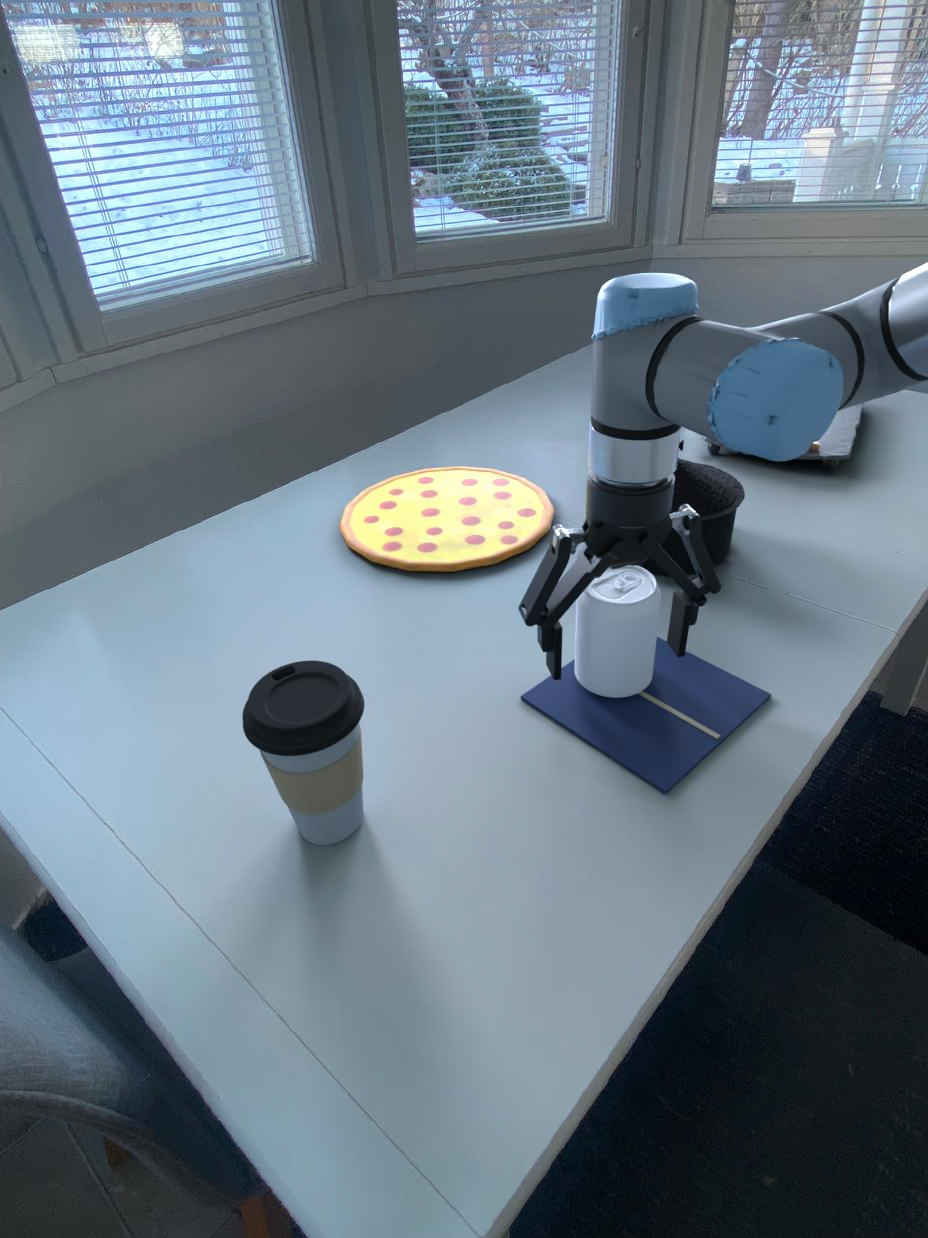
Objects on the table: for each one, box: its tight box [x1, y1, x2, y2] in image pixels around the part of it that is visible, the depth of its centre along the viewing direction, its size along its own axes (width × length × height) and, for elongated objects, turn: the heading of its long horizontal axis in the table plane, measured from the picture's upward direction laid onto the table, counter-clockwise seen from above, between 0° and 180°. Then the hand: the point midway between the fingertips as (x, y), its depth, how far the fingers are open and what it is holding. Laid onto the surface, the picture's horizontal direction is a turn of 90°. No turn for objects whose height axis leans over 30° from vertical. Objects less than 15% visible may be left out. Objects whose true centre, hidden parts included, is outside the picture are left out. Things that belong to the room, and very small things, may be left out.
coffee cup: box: [241, 659, 365, 846], centre depth 60 cm, size 9×9×15 cm
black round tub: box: [636, 439, 746, 578], centre depth 95 cm, size 18×18×15 cm
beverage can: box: [574, 565, 662, 698], centre depth 74 cm, size 8×8×12 cm
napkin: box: [520, 636, 772, 795], centre depth 75 cm, size 18×18×1 cm
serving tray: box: [700, 402, 865, 472], centre depth 128 cm, size 39×23×6 cm, turn 152°
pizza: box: [338, 465, 555, 573], centre depth 109 cm, size 32×32×1 cm
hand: (615, 660), depth 76 cm, fingers open, 13 cm apart
